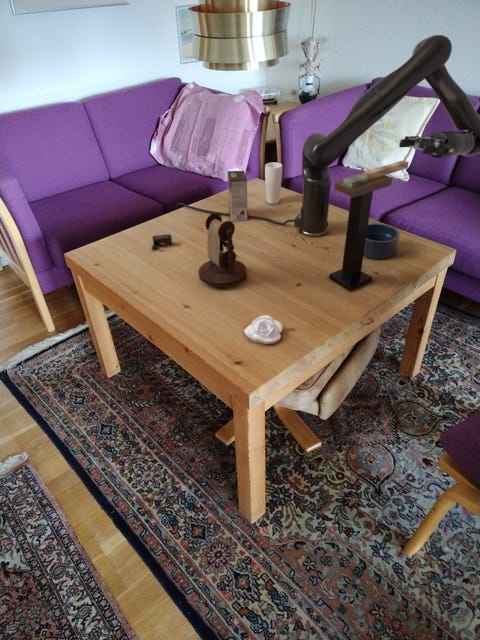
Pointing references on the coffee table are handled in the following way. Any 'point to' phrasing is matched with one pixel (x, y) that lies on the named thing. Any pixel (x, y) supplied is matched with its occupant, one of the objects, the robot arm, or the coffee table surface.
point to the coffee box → (237, 195)
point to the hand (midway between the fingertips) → (412, 146)
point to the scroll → (221, 255)
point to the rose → (264, 330)
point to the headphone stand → (357, 231)
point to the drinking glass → (273, 182)
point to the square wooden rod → (375, 173)
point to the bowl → (381, 241)
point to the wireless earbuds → (161, 241)
